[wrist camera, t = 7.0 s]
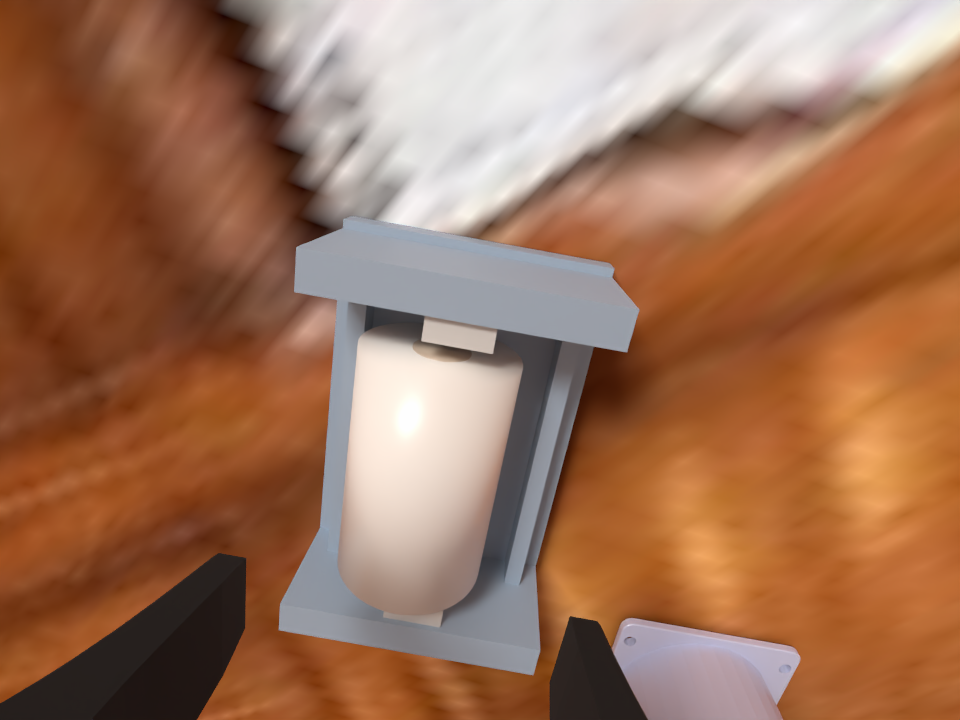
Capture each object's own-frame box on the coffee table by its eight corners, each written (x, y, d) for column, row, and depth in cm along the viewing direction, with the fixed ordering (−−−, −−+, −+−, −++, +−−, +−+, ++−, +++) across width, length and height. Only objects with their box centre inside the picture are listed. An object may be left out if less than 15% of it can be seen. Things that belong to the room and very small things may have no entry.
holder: (527, 576, 23) (531, 681, 19) (325, 540, 23) (278, 636, 19) (609, 262, 18) (642, 298, 14) (352, 216, 18) (297, 235, 14)
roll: (480, 525, 21) (475, 627, 17) (357, 504, 21) (317, 602, 17) (520, 337, 18) (527, 398, 14) (378, 311, 18) (336, 364, 14)
